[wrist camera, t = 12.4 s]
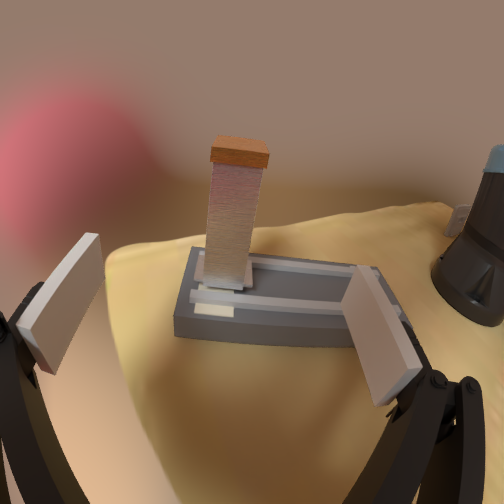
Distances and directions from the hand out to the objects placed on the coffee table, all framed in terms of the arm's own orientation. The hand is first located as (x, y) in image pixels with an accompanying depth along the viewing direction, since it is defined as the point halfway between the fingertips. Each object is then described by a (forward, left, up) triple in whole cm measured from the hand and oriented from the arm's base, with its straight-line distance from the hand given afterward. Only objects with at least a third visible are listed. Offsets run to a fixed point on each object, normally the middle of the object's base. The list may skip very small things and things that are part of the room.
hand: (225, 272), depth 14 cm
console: (-7, -9, -10) cm, 15 cm away
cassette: (-53, -37, -10) cm, 65 cm away
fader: (0, -9, -6) cm, 11 cm away
